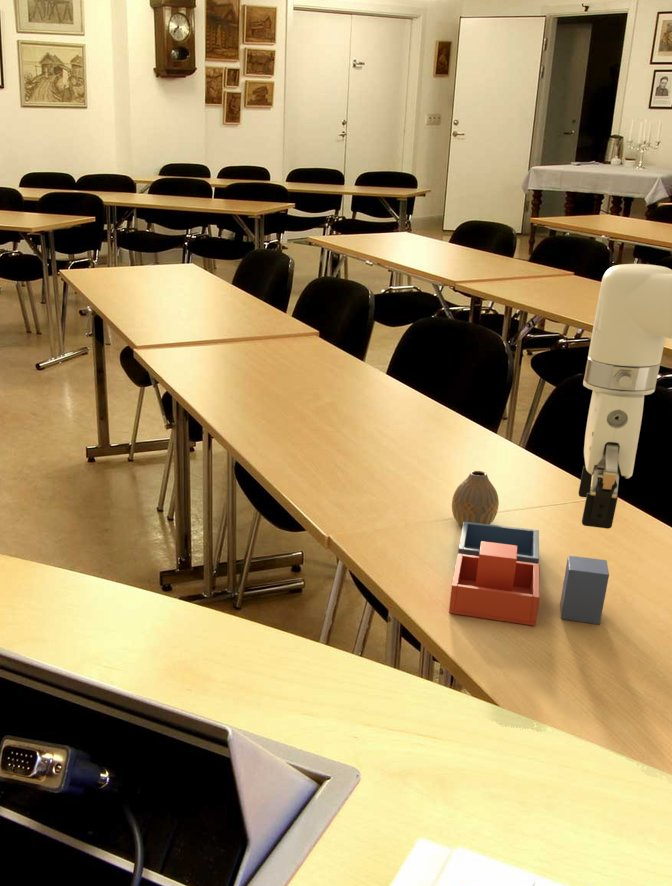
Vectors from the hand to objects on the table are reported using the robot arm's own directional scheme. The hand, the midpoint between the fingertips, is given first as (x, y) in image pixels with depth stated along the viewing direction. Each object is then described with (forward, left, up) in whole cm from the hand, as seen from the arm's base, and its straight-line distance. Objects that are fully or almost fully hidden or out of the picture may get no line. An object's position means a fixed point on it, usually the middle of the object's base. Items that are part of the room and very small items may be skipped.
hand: (593, 511), depth 112 cm
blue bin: (+10, -12, -14) cm, 21 cm away
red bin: (+10, 0, -14) cm, 17 cm away
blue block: (0, 0, -14) cm, 14 cm away
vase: (+14, -26, -14) cm, 33 cm away
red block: (+10, 0, -14) cm, 17 cm away
